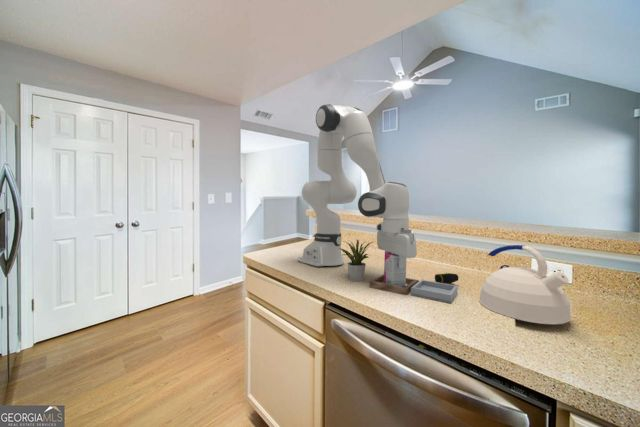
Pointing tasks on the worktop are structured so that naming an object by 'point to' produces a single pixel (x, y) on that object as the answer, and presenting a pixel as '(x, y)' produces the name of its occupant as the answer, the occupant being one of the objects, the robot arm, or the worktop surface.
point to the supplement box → (394, 271)
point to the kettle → (526, 291)
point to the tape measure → (446, 278)
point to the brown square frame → (392, 288)
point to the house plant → (356, 261)
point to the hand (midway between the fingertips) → (394, 265)
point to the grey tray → (435, 291)
